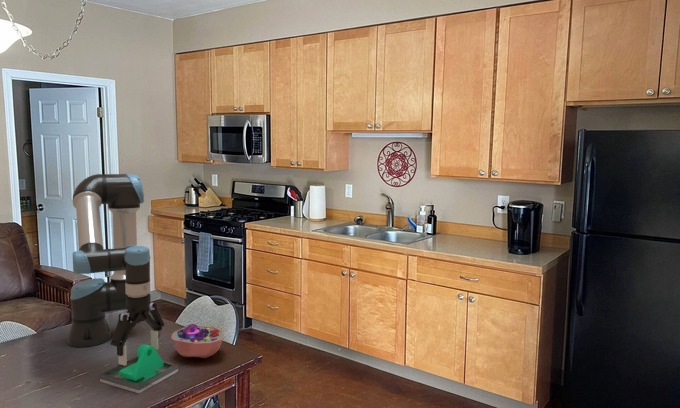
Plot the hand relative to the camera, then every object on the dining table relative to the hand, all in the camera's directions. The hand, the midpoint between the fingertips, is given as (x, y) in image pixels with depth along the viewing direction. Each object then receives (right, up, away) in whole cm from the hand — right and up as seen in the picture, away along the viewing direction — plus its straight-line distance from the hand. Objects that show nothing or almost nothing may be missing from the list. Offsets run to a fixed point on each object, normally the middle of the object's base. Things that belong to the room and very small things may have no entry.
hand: (139, 356), depth 164 cm
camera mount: (+1, -6, 0) cm, 6 cm away
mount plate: (0, -7, 0) cm, 7 cm away
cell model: (+15, -6, +18) cm, 24 cm away
